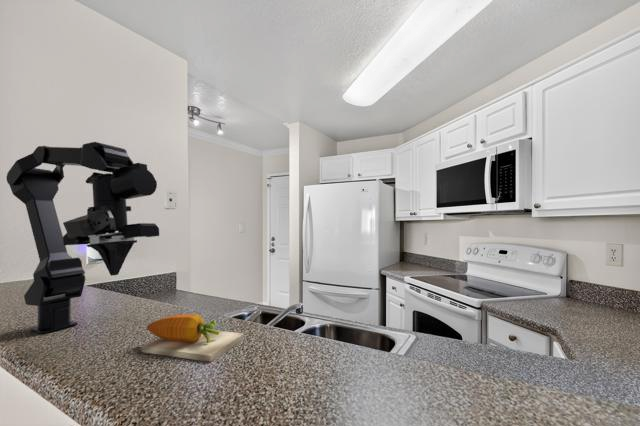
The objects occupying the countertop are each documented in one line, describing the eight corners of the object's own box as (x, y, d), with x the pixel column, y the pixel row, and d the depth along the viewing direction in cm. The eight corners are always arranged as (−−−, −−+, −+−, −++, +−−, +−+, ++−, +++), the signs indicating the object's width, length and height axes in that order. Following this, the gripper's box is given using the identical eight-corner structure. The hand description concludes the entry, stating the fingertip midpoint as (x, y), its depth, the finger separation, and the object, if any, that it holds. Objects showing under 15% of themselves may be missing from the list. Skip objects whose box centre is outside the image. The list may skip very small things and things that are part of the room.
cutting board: (141, 352, 53) (141, 346, 53) (183, 332, 62) (183, 327, 62) (210, 361, 48) (210, 355, 48) (244, 338, 58) (244, 333, 58)
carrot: (159, 328, 60) (226, 329, 57) (142, 346, 56) (213, 349, 53) (152, 308, 58) (220, 308, 55) (133, 325, 54) (206, 327, 51)
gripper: (32, 204, 57) (35, 285, 56) (114, 192, 53) (119, 278, 52) (87, 208, 68) (91, 276, 67) (158, 198, 64) (163, 269, 63)
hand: (114, 275), depth 62 cm, fingers closed
